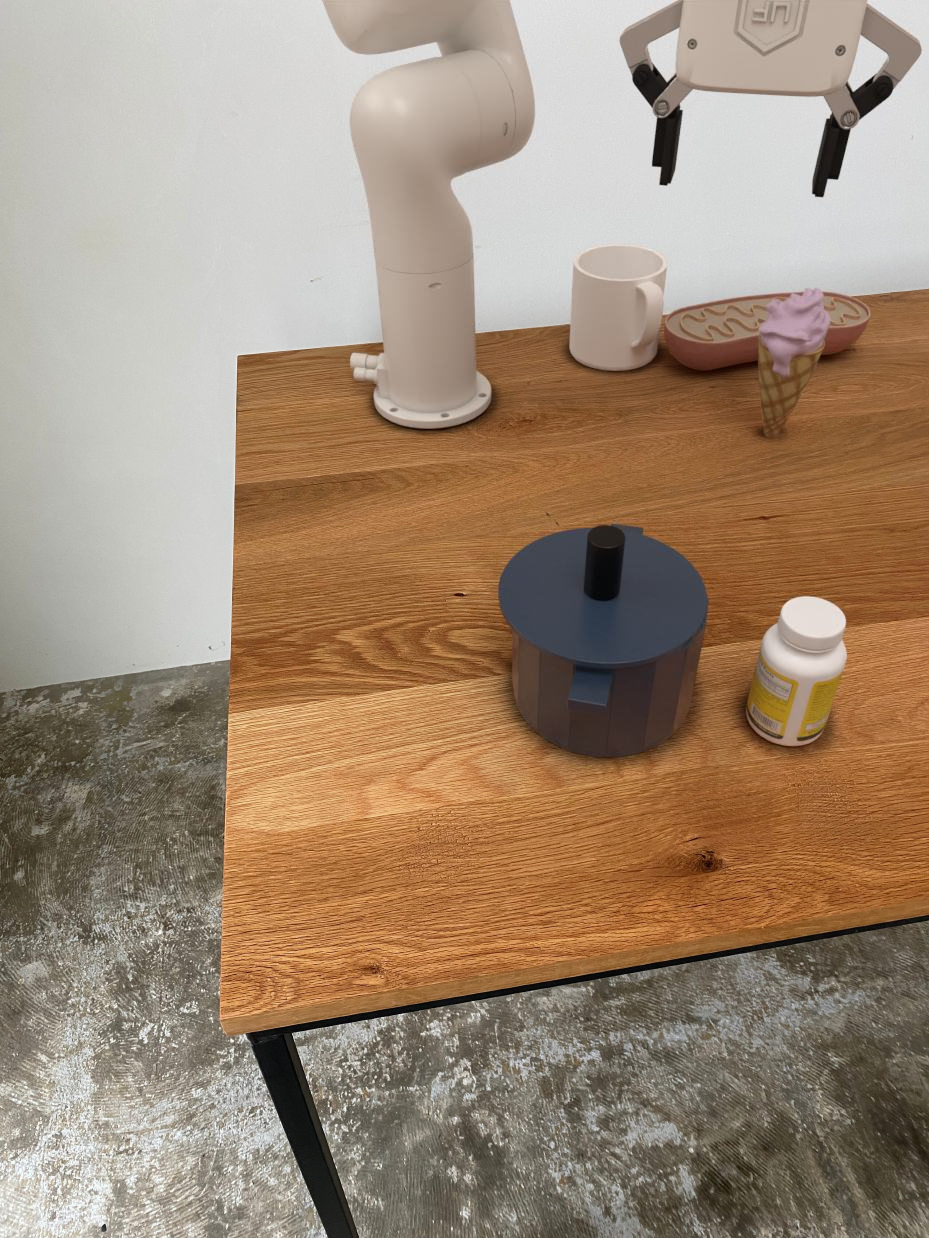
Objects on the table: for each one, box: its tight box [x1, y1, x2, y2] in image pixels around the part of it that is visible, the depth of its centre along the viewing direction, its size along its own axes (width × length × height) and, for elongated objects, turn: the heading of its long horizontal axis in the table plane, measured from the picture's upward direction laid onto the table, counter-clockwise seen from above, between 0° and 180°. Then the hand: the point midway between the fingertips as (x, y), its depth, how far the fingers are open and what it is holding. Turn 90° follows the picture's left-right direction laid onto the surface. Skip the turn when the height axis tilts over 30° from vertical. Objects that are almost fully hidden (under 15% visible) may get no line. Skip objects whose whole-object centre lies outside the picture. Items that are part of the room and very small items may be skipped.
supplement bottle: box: [745, 595, 848, 747], centre depth 63 cm, size 5×5×10 cm
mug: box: [568, 243, 668, 372], centre depth 103 cm, size 13×10×10 cm
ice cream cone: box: [757, 287, 831, 439], centre depth 88 cm, size 7×6×15 cm
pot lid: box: [497, 524, 708, 669], centre depth 61 cm, size 14×14×6 cm
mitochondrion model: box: [663, 290, 872, 371], centre depth 104 cm, size 23×10×5 cm, turn 101°
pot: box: [511, 523, 710, 758], centre depth 65 cm, size 13×18×9 cm
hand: (741, 184), depth 61 cm, fingers open, 9 cm apart
